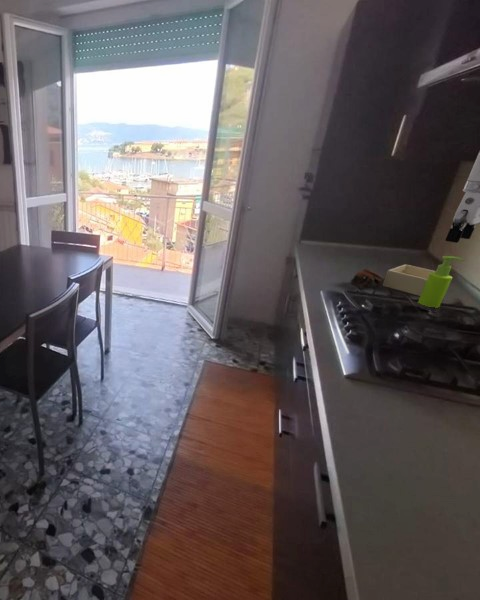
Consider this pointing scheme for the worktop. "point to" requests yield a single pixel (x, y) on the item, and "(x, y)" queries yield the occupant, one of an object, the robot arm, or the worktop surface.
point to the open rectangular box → (407, 279)
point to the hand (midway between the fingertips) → (457, 239)
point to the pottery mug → (365, 279)
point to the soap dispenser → (437, 284)
